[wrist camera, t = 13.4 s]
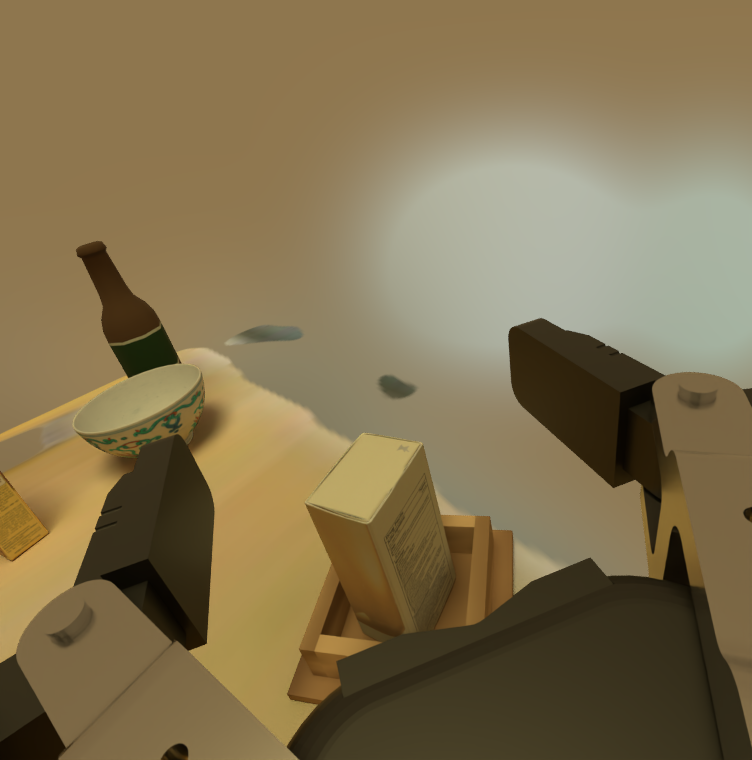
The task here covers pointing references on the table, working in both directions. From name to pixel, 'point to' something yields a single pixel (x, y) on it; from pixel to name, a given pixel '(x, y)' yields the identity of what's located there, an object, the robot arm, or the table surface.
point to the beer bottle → (127, 317)
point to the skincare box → (385, 535)
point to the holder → (462, 608)
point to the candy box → (16, 522)
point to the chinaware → (143, 410)
